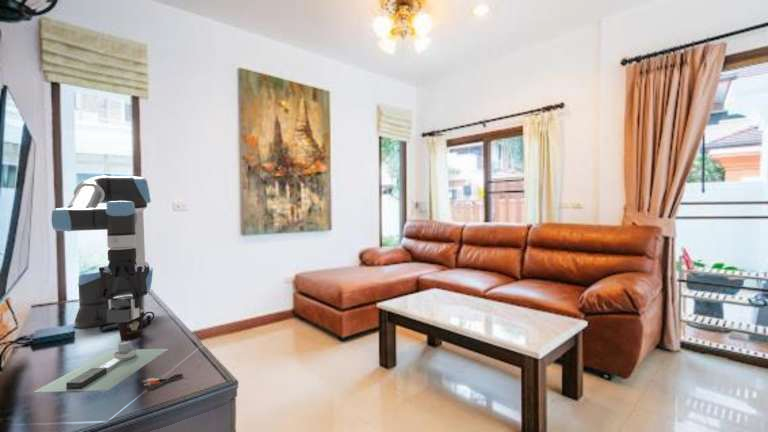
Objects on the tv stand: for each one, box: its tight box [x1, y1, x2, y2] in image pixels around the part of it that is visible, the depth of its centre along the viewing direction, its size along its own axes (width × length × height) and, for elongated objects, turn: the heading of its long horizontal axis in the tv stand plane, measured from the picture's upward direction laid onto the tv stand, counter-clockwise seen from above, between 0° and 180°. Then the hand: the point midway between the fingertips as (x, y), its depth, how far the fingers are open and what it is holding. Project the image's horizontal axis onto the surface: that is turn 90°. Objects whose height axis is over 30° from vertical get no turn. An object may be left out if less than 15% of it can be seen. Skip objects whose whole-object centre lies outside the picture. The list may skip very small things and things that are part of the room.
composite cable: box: [142, 373, 184, 391], centre depth 99 cm, size 10×5×2 cm, turn 128°
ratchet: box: [66, 340, 138, 389], centre depth 108 cm, size 23×6×5 cm, turn 2°
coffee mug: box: [117, 308, 155, 342], centre depth 136 cm, size 12×9×10 cm
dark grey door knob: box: [107, 295, 141, 324], centre depth 116 cm, size 6×6×7 cm
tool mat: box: [33, 348, 169, 393], centre depth 109 cm, size 28×20×1 cm
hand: (124, 318), depth 116 cm, fingers closed on dark grey door knob, 6 cm apart
